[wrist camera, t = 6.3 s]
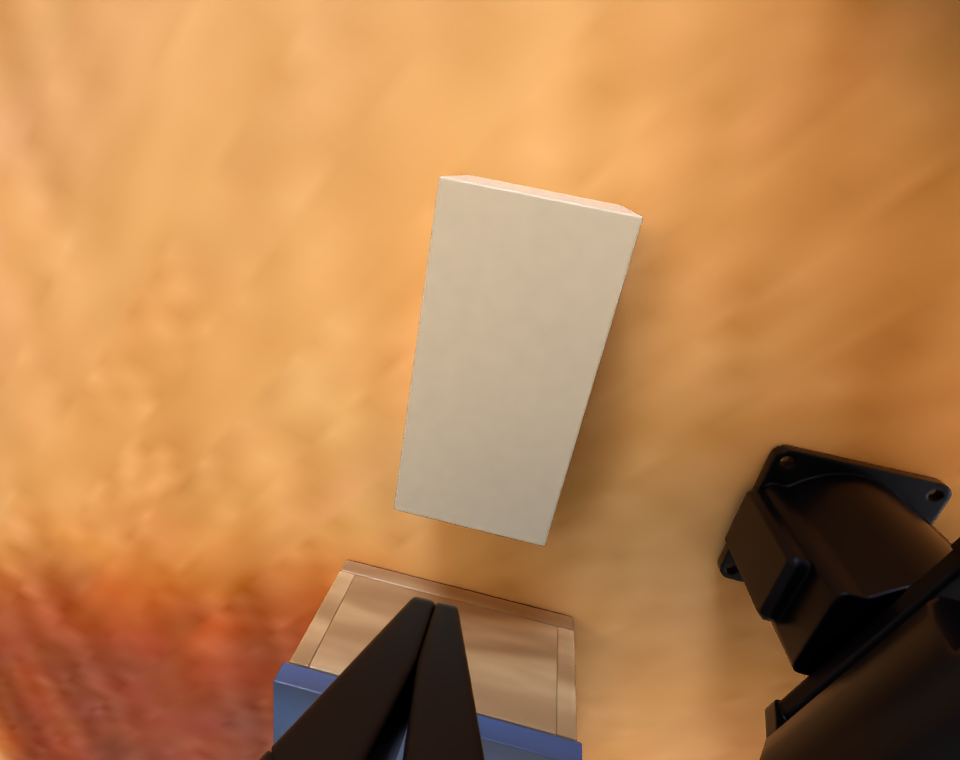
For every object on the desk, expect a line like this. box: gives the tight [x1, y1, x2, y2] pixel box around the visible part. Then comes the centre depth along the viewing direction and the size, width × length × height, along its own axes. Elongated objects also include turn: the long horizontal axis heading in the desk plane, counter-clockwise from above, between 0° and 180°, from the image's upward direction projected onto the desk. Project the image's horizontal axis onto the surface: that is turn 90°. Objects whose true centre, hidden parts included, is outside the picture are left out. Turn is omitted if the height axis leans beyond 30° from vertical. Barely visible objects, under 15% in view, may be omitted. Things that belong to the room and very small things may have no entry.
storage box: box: [290, 560, 577, 741], centre depth 25 cm, size 14×12×6 cm
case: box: [394, 175, 643, 546], centre depth 17 cm, size 11×5×5 cm, turn 170°
